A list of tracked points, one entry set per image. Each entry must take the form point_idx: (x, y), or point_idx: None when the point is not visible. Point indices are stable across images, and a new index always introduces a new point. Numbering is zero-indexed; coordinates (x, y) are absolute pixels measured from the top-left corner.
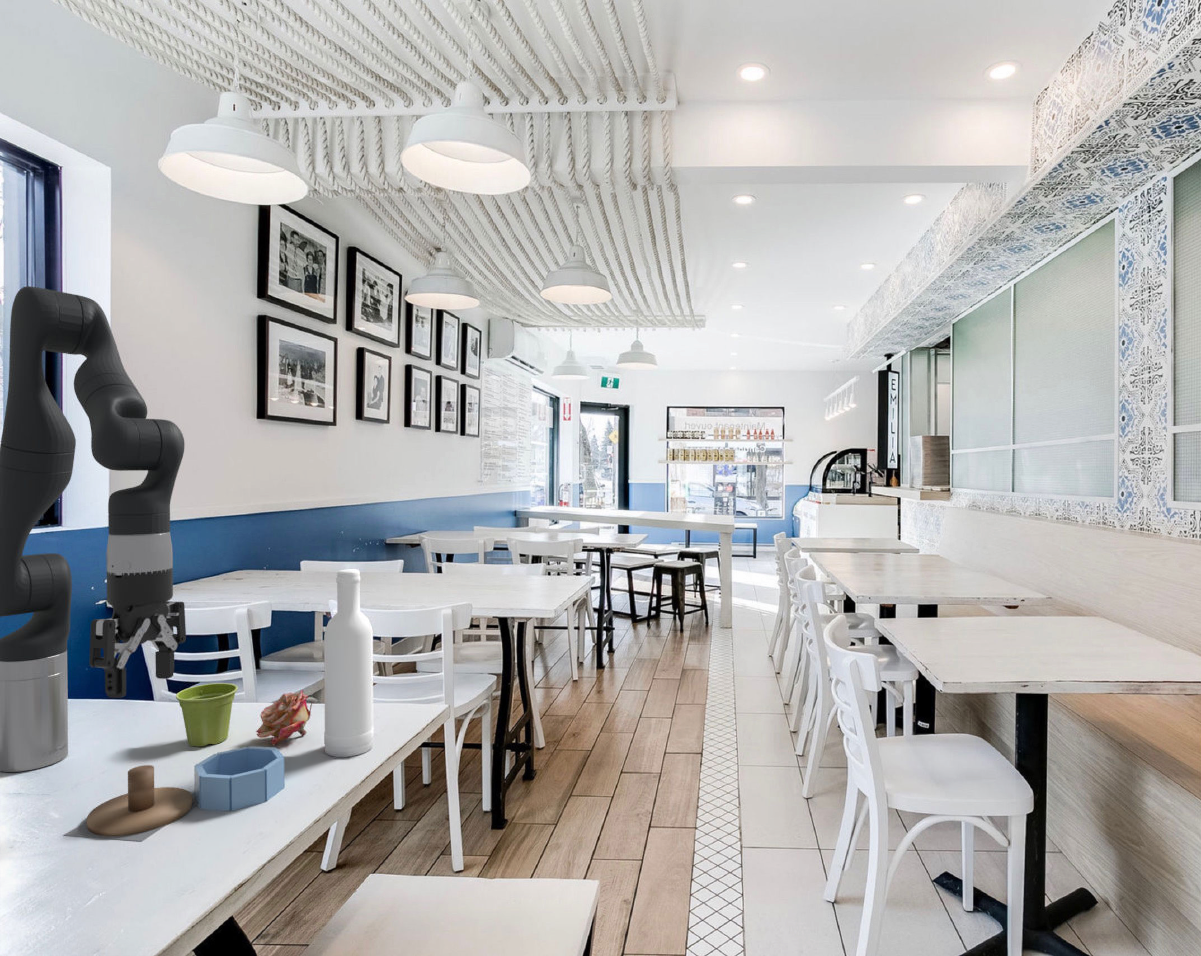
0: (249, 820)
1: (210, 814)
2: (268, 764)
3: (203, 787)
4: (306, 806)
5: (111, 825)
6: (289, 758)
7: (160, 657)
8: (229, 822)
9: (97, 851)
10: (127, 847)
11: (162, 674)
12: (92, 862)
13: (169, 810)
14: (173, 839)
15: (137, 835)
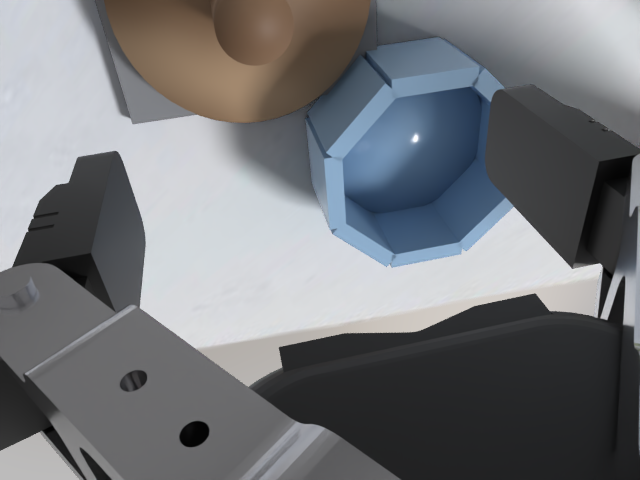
0: (301, 235)
1: (305, 143)
2: (419, 251)
3: (318, 152)
4: (375, 284)
5: (127, 16)
6: (615, 91)
7: (563, 181)
8: (283, 207)
9: (66, 36)
10: (114, 92)
11: (499, 139)
12: (27, 74)
13: (248, 94)
14: (184, 159)
15: (148, 90)
